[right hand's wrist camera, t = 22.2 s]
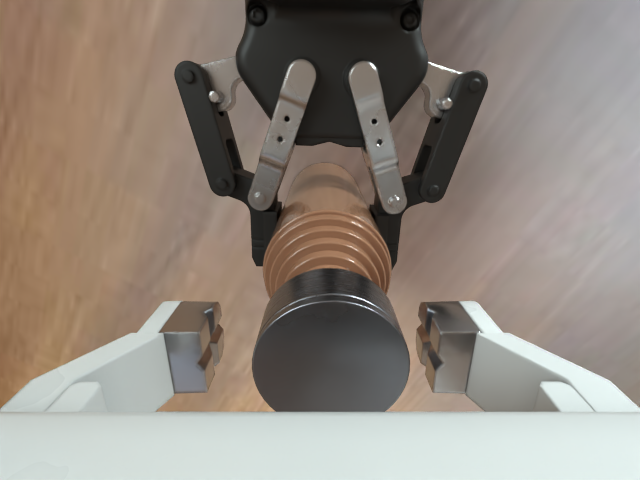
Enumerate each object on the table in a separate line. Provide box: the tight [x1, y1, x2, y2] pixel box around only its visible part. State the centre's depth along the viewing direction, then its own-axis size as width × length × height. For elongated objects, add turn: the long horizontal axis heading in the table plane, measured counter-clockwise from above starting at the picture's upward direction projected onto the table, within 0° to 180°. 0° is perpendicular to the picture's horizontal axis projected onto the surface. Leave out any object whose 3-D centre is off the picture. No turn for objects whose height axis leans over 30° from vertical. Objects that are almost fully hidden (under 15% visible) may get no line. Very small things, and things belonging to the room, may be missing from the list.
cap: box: [252, 268, 410, 412], centre depth 9 cm, size 4×4×2 cm
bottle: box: [263, 163, 392, 299], centre depth 17 cm, size 5×5×17 cm
